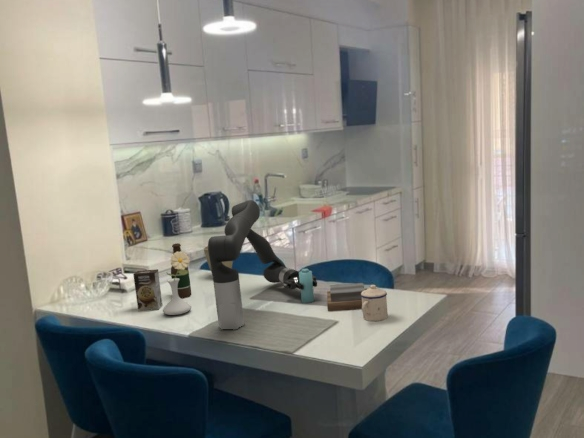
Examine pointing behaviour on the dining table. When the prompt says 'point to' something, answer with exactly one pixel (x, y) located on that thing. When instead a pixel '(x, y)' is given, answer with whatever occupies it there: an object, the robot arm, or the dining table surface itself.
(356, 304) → the tower base
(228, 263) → the plant pot
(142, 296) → the coffee box
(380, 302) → the teacup with lid
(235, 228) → the robot arm
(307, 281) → the teal bottle
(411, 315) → the dining table surface
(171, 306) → the flower in vase
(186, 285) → the beer bottle
